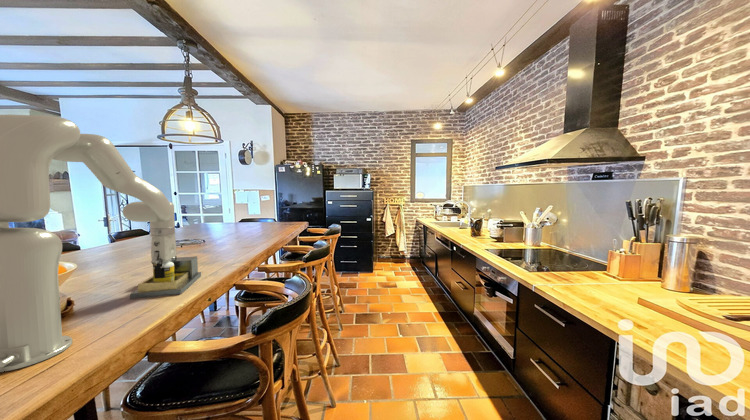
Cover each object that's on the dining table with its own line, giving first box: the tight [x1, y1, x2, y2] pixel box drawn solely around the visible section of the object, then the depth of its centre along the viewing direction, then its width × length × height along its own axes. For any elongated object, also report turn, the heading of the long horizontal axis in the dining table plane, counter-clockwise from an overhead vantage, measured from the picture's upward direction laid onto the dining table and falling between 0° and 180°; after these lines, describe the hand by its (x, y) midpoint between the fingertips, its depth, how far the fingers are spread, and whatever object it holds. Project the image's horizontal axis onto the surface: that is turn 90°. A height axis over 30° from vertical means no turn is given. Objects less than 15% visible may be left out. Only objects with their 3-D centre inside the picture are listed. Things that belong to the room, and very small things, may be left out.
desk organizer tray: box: [129, 255, 202, 300], centre depth 103 cm, size 22×16×11 cm
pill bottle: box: [152, 259, 174, 283], centre depth 99 cm, size 6×6×12 cm
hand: (164, 274), depth 99 cm, fingers closed on pill bottle, 6 cm apart
